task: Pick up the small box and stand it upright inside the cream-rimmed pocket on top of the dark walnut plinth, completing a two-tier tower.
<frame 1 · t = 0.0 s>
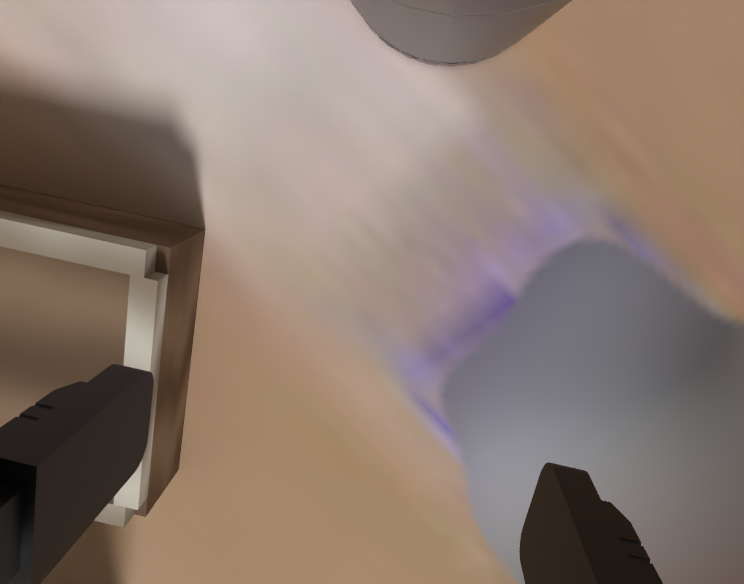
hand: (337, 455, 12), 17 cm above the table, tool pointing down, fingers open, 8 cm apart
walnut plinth: (62, 329, 31), on the table
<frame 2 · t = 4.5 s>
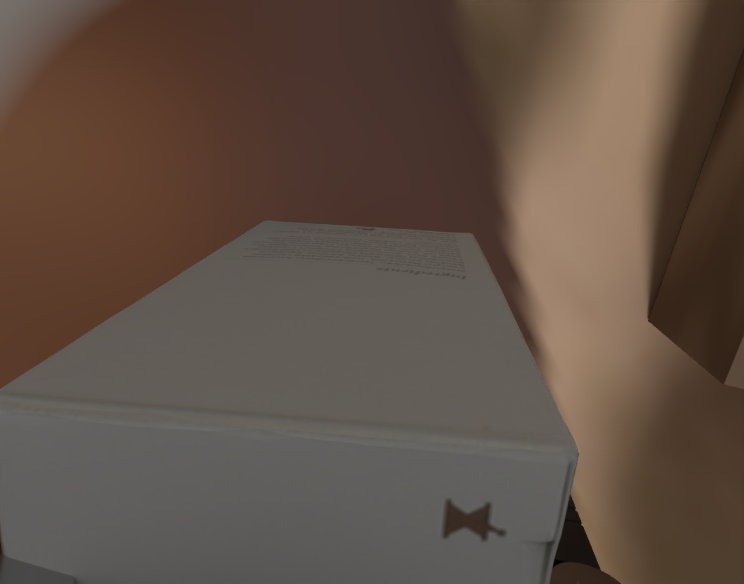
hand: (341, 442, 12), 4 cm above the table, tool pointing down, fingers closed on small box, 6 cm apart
small box: (363, 363, 16), on the table, touching gripper
when the fingers open (10 cm above the table, at t = 10.1 s): small box drops 2 cm, resting on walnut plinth.
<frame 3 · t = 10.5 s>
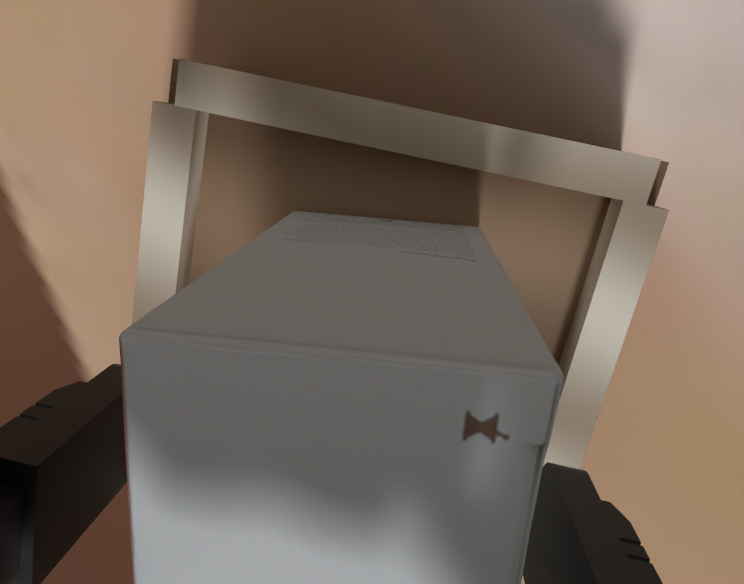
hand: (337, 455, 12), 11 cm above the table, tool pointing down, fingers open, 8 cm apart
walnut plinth: (377, 305, 22), on the table
small box: (377, 342, 18), point 4 cm above the table, touching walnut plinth
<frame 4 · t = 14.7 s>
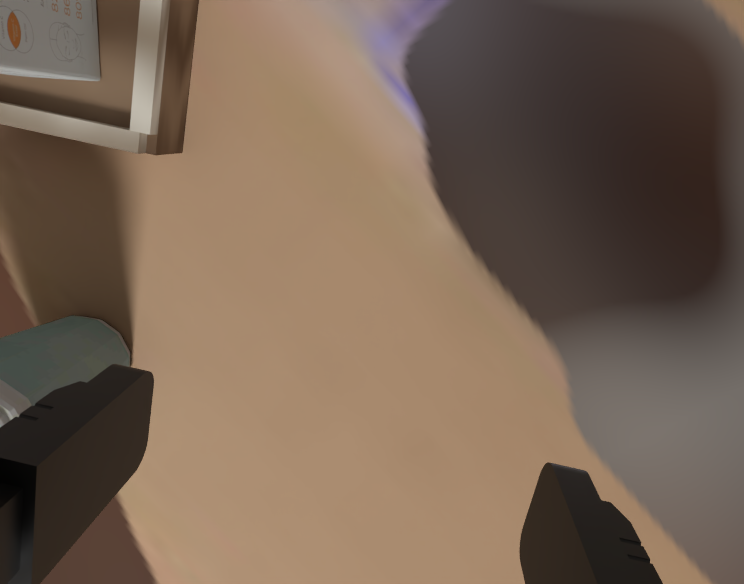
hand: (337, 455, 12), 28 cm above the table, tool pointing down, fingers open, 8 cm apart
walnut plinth: (86, 18, 37), on the table
small box: (54, 6, 33), point 4 cm above the table, touching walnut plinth
disposable coffee cup: (93, 358, 43), on the table
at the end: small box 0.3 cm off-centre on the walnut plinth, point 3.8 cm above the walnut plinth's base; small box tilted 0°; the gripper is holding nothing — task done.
